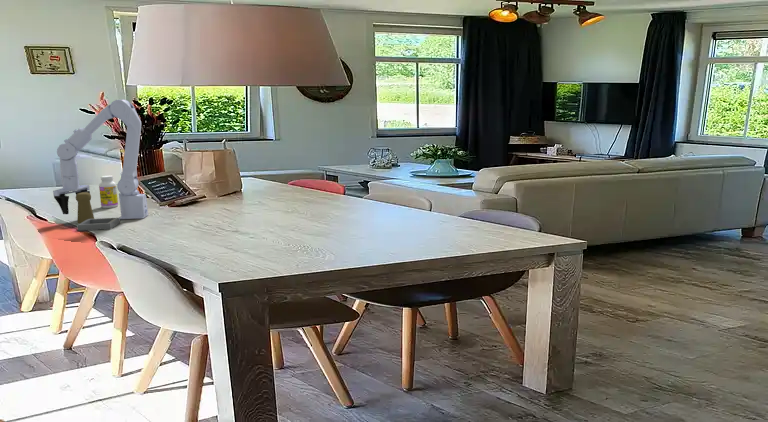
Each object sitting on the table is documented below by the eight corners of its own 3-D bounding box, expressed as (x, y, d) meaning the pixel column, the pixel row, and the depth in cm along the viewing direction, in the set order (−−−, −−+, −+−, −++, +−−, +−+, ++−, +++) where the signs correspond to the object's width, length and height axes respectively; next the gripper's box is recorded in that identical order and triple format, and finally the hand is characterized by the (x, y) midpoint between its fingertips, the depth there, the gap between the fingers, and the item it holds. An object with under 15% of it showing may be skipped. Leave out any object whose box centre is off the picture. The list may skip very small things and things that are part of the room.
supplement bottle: (98, 208, 284) (94, 177, 282) (106, 205, 290) (103, 175, 288) (113, 208, 283) (109, 177, 280) (121, 205, 289) (118, 175, 287)
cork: (88, 223, 252) (85, 194, 250) (73, 223, 253) (70, 194, 251) (98, 220, 258) (95, 191, 256) (84, 220, 259) (80, 191, 257)
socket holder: (119, 222, 251) (119, 217, 251) (110, 229, 241) (109, 223, 240) (88, 224, 251) (88, 218, 250) (78, 230, 240) (77, 225, 239)
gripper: (78, 173, 263) (82, 208, 265) (45, 178, 250) (50, 215, 252) (91, 173, 260) (95, 209, 262) (59, 179, 247) (63, 216, 249)
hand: (74, 212), depth 257 cm, fingers open, 7 cm apart
